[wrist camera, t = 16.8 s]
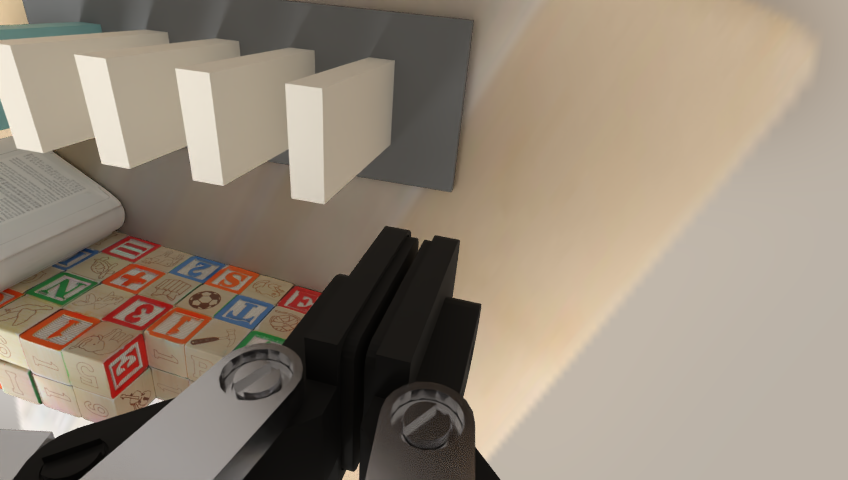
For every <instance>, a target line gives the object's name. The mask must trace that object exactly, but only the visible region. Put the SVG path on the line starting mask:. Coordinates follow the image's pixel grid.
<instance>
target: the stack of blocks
mask: <svg viewBox="0 0 848 480" xmlns="http://www.w3.org/2000/svg"><path fill="white" fill-rule="evenodd" d="M321 294H322V293H320V292H316V291H313V290H309V289H306V288H302V287H299V286H294V284H292V283H289V282H285V281H282V280H279V279H275V278H272V277H268V276H264V275H260V274H257V273H255V272H251V271H248V270H245V269H241V268H238V267H234V266H231V265H225V264H222V263H219V262H215V261H212V260H208V259H205V258H201V257H198V256H193V255H191V254H187V253H183V252H180V251H177V250H173V249H170V248H166V247H162V246H161V245H159V244H155V243H152V242H149V241H145V240H142V239H138V238H135V237H132V236H128V235H126V234H122V233H119V232H115V231H113V232H112V234H110V235H109V236H107V237H106V238H104V239H102V240H100V241H98V242H96V243H94V244H92V245H91V246H89V247H87V248H85V249H83V250H81V251H79V252H77V253H75V254H73V255H71V256H70V257H67V258H66V259H64V260H62V261H60V262H58V263H56V264H54V265H52V266H50V267H48V268H46V269H44V270H42V271H40V272H39V273H37V274H35V275H33V276H31V277H29V278H27V279H25V280H23V281H21V282H19V283H17V284H15V285H13V286H11V287H9V288H8V289H6V290H4V291H2V292H0V389H3V391H4V392H5V393H7V394H9V395H12V396H15V397H18V398H20V399H23V400H26V401H29V402H32V403H35V404H39V405H40V404H42V403H43V404H44V405H45V406H47V407H49V408H52V409H55V410H58V411H61V412H64V413H67V414H70V415H73V416H76V417H83V418H84V419H86V420H89V421H92V422H95V423H96V422H99V421H102V420H105V419H109V418H112V417H115V416H118V415H121V414H124V413H128V412H131V411H134V410H137V409H140V408H143V407H147V406H148V405H149V404H150V403H151V402H152V401H153V400H154V399H155V398H158V399H161V400H164V401H165V400H169V399H172V398H175V397H177V396H178V395H179V394H181V393H182V392H183V391H184V390H185V389H186V388H188V387H189V386H190V385H191V384H192V383H193V382H195V381H196V380H197V379H198V378H199V377H200V376H202V375H203V374H204V373H205V372H206V371H208V370H209V369H210V368H211V367H212V366H213V365H215V364H216V363H217V362H218V361H219V360H220V359H222V358H223V357H225V356H226V355H228V354H229V353H231V352H232V351H234V350H237V349H239V348H242V347H244V346H247V345H252V344H258V343H274V344H278V345H282V344H283V342H284V341H285V340H286V339H287V337H288V336H289V335H290V333H291V332H292V331H293V330H294V328H295V327H296V326H297V324H298V323H299V322H300V321H301V319H302V318H303V317H304V315H305V314H306V313H307V312H308V310H309V309H310V308H311V306H312V305H313V304H314V303H315V301H316V300H317V299H318V297H319V296H320V295H321Z"/></svg>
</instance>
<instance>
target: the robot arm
mask: <svg viewBox="0 0 848 480" xmlns="http://www.w3.org/2000/svg"><path fill="white" fill-rule="evenodd" d="M459 245H460V240H457V239H452V238H447V237H441V236H436V235H435V236H434V238H433V240H432V241H428V240H424V241H423V243H422V245H421V247H420V249H419V251H418V238H412V237H411V232H410V230H404V229H399V228H394V227H388V226H385V227H384V229H383V230H382V231H381V233H380V234H379V235H378V237H377V238H376V239H375V241H374V242H373V244H372V245H371V246H370V248H369V249H368V250H367V252H366V253H365V255H364V256H363V257H362V259H361V260H360V261H359V263H358V264H357V266H356V267H355V268H354V270H353V271H352V272H351V274H350V275H349V276H347V275H342V274H339V275H336V276H335V277H334V278H333V279H332V281H331V282H330V283H329V285H328V286H327V287H326V288H325V290H324V291H323V292H322V294H321V295H320V296H319V297H318V299H317V300H316V301H315V303H314V304H313V305H312V306H311V308H310V309H309V310H308V312H307V313H306V314H305V315H304V317H303V318H302V319H301V321H300V322H299V323H298V324H297V326H296V327H295V328H294V330H293V331H292V332H291V333H290V335H289V336H288V337H287V339H286V340H285V341H284V342H283V344H282V345H278V344H274V343H258V344H252V345H247V346H244V347H242V348H239V349H237V350H234V351H232V352H231V353H229V354H228V355H226V356H225V357H223V358H222V359H220V360H219V361H218V362H217V363H216V364H215V365H213V366H212V367H211V368H210V369H209V370H208V371H206V372H205V373H204V374H203V375H202V376H200V377H199V378H198V379H197V380H196V381H195V382H193V383H192V384H191V385H190V386H189V387H188V388H186V389H185V390H184V391H183V392H182V393H181V394H179V395H178V396H177V397H175V398H172V399H169V400H165V401H162V402H159V403H156V404H153V405H150V406H147V407H143V408H140V409H137V410H134V411H131V412H128V413H124V414H121V415H118V416H115V417H112V418H109V419H105V420H102V421H99V422H96V423H93V424H90V425H86V426H83V427H80V428H77V429H75V430H72V431H70V432H67V433H65V434H63V435H60V436H58V437H57V438H54V435H53V433H52V432H46V431H28V430H9V429H0V480H342V478H343V476H344V474H345V471H346V470H349V471H353V472H354V471H355V470H356V469H357V467H358V464H359V462H360V469H359V480H500V479H499V477H498V476H497V475H496V473H495V472H494V471H493V470H492V468H491V467H490V466H489V464H488V463H487V462H486V460H485V459H484V458H483V456H482V455H481V454H480V453H479V451H478V450H477V449H476V447H475V421H474V416H473V411H472V409H471V408H470V406H469V404H468V403H467V401H466V400H465V399H464V398H463V396H464V392H465V387H466V383H467V379H468V374H469V370H470V365H471V360H472V355H473V350H474V345H475V340H476V335H477V329H478V323H479V318H480V312H481V304H479V303H474V302H470V301H465V300H460V299H455V298H452V297H453V290H454V283H455V275H456V268H457V261H458V253H459Z"/></svg>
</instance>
